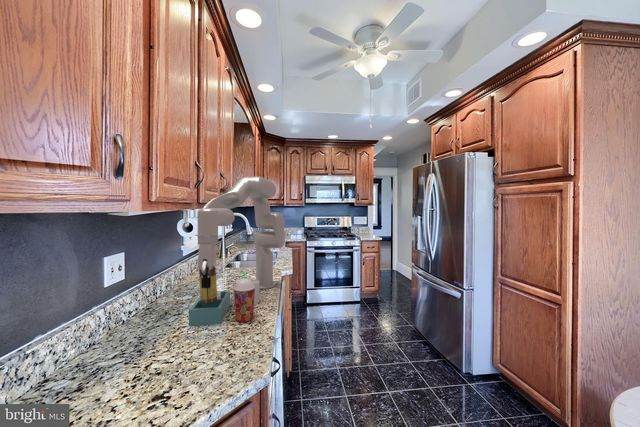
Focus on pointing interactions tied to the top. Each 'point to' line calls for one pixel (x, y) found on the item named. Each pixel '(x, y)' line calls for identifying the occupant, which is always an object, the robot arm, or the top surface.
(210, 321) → the bottle crate
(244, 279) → the smoothie
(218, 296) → the cream jar
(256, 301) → the toilet tissue
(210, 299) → the sauce bottle
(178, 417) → the top surface
